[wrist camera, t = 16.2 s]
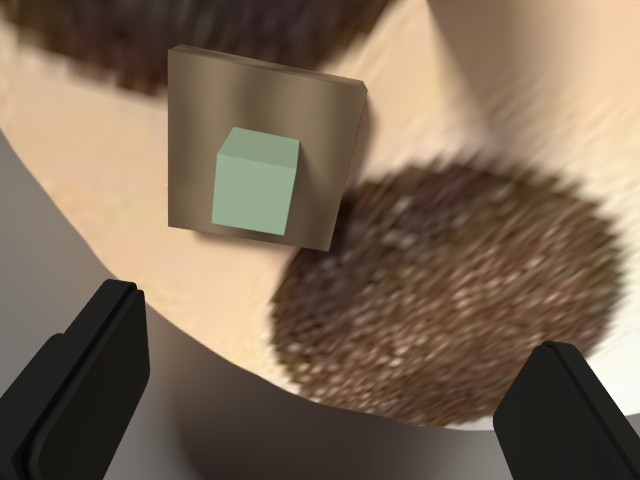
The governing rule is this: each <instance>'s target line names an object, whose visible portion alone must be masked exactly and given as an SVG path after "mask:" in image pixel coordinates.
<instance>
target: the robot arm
mask: <svg viewBox="0 0 640 480" xmlns="http://www.w3.org/2000/svg"><path fill="white" fill-rule="evenodd" d="M149 374H150V362H149V349H148V336H147V323H146V310H145V296H144V292H143V290H138V289H137V285H136V284H135V283H134V282H127V281H120V280H113V279H107V280H106V281H105V282H104V283H103V284H102V285H101V286H100V288H99V289H98V290H97V291H96V293H95V294H94V295H93V297H92V298H91V299H90V300H89V302H88V303H87V304H86V306H85V307H84V308H83V309H82V311H81V312H80V313H79V315H78V316H77V317H76V319H75V320H74V321H73V322H72V324H71V325H70V326H69V327H68V329H67V330H66V331H65V333H64V334H62V333H57V334H55V335H53V336H52V337H51V338H49V339H48V340H47V341H46V343H45V344H44V345H43V346H42V347H41V349H40V350H39V351H38V352H37V354H36V355H35V356H34V357H33V358H32V360H31V361H30V362H29V363H28V365H27V366H26V367H25V368H24V370H23V371H22V372H21V374H20V375H19V376H18V377H17V378H16V380H15V381H14V382H13V383H12V384H11V386H10V387H9V388H8V390H7V391H6V392H5V393H4V394H3V396H2V397H1V398H0V480H103V478H104V476H105V474H106V472H107V470H108V467H109V465H110V463H111V461H112V459H113V457H114V454H115V452H116V450H117V448H118V446H119V444H120V442H121V439H122V437H123V435H124V433H125V431H126V429H127V427H128V424H129V422H130V420H131V418H132V416H133V414H134V411H135V409H136V407H137V405H138V403H139V401H140V398H141V396H142V394H143V392H144V390H145V387H146V385H147V383H148V380H149ZM493 427H494V430H495V433H496V435H497V438H498V441H499V443H500V446H501V449H502V451H503V453H504V456H505V459H506V462H507V464H508V467H509V470H510V472H511V475H512V477H513V480H640V438H639V436H638V435H637V434H636V432H635V430H634V429H633V428H632V426H631V425H630V423H629V422H628V421H627V419H626V418H625V416H624V415H623V413H622V412H621V410H620V409H619V408H618V406H617V405H616V403H615V402H614V400H613V399H612V398H611V396H610V395H609V393H608V392H607V390H606V389H605V388H604V386H603V385H602V383H601V382H600V380H599V379H598V378H597V376H596V375H595V373H594V372H593V370H592V369H591V368H590V366H589V365H588V363H587V362H586V360H585V359H584V358H583V356H582V355H581V353H580V352H579V350H578V349H577V348H576V347H575V346H574V345H572V344H569V343H562V342H555V341H545V342H543V343H542V344H541V345H540V346H536V347H535V348H534V350H533V351H532V353H531V355H530V356H529V358H528V359H527V361H526V363H525V364H524V366H523V367H522V369H521V371H520V372H519V374H518V375H517V377H516V379H515V380H514V382H513V383H512V385H511V387H510V388H509V390H508V391H507V393H506V395H505V396H504V398H503V399H502V401H501V403H500V404H499V406H498V408H497V409H496V411H495V412H494V415H493Z"/></svg>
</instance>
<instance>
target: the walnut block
mask: <svg viewBox="0 0 640 480" xmlns="http://www.w3.org/2000/svg"><path fill="white" fill-rule="evenodd" d="M366 94H367V88H366V86H365V85H364V83H363V81H359V80H355V79H350V78H345V77H340V76H335V75H330V74H325V73H320V72H315V71H310V70H306V69H301V68H296V67H291V66H286V65H281V64H276V63H271V62H266V61H261V60H256V59H252V58H247V57H242V56H237V55H232V54H227V53H222V52H217V51H212V50H207V49H202V48H198V47H193V46H188V45H183V44H182V45H179V46H177V47H174V48H171V49H169V50H168V226H169V227H175V228H181V229H188V230H194V231H201V232H207V233H214V234H220V235H226V236H233V237H239V238H246V239H252V240H258V241H265V242H271V243H278V244H284V245H290V246H297V247H303V248H310V249H316V250H323V251H329V248H330V243H331V239H332V235H333V231H334V227H335V223H336V219H337V214H338V210H339V206H340V202H341V198H342V194H343V190H344V185H345V181H346V177H347V173H348V169H349V165H350V160H351V156H352V152H353V148H354V144H355V140H356V136H357V131H358V127H359V123H360V119H361V115H362V111H363V107H364V102H365V98H366ZM233 127H237V128H242V129H247V130H252V131H257V132H262V133H267V134H272V135H277V136H281V137H286V138H291V139H296V140H299V149H298V159H297V169H296V174H295V180H294V185H293V190H292V195H291V201H290V206H289V211H288V216H287V222H286V227H285V232H284V235H278V234H272V233H267V232H261V231H255V230H249V229H244V228H238V227H232V226H226V225H220V224H215V223H212V211H213V199H214V187H215V175H216V163H217V153H218V152H219V150H220V148H221V147H222V145H223V143H224V142H225V140H226V139H227V137H228V135H229V134H230V132H231V130H232V129H233Z"/></svg>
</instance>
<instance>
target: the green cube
mask: <svg viewBox="0 0 640 480" xmlns="http://www.w3.org/2000/svg"><path fill="white" fill-rule="evenodd" d="M298 149H299V140H296V139H291V138H286V137H281V136H277V135H272V134H267V133H262V132H257V131H252V130H247V129H242V128H237V127H233V129H232V130H231V132H230V134H229V135H228V137H227V139H226V140H225V142H224V143H223V145H222V147H221V148H220V150H219V152H218V153H217V163H216V175H215V187H214V199H213V211H212V223H215V224H220V225H226V226H232V227H238V228H244V229H249V230H255V231H261V232H267V233H272V234H278V235H284V232H285V227H286V222H287V216H288V211H289V206H290V201H291V195H292V190H293V185H294V180H295V174H296V169H297V159H298Z"/></svg>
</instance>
